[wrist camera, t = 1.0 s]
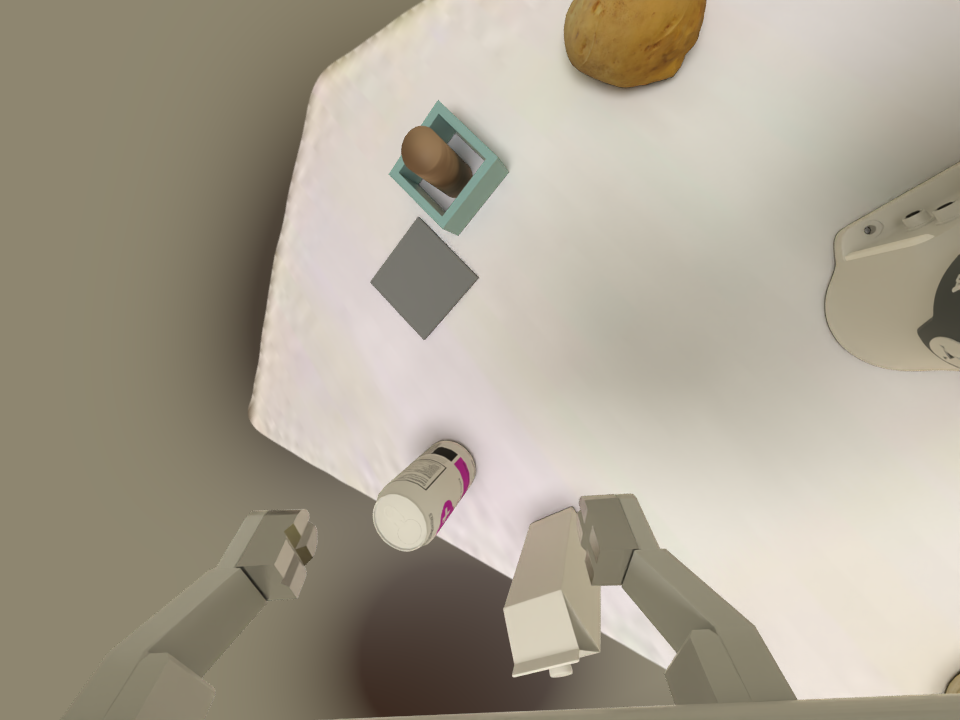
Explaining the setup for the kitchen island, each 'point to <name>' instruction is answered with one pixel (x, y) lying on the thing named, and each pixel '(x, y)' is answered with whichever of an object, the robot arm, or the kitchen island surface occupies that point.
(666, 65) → the potato
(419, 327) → the mat
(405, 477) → the supplement can
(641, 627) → the kitchen island surface
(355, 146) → the kitchen island surface
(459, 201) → the tub
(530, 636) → the milk carton
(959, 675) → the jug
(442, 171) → the walnut peg
